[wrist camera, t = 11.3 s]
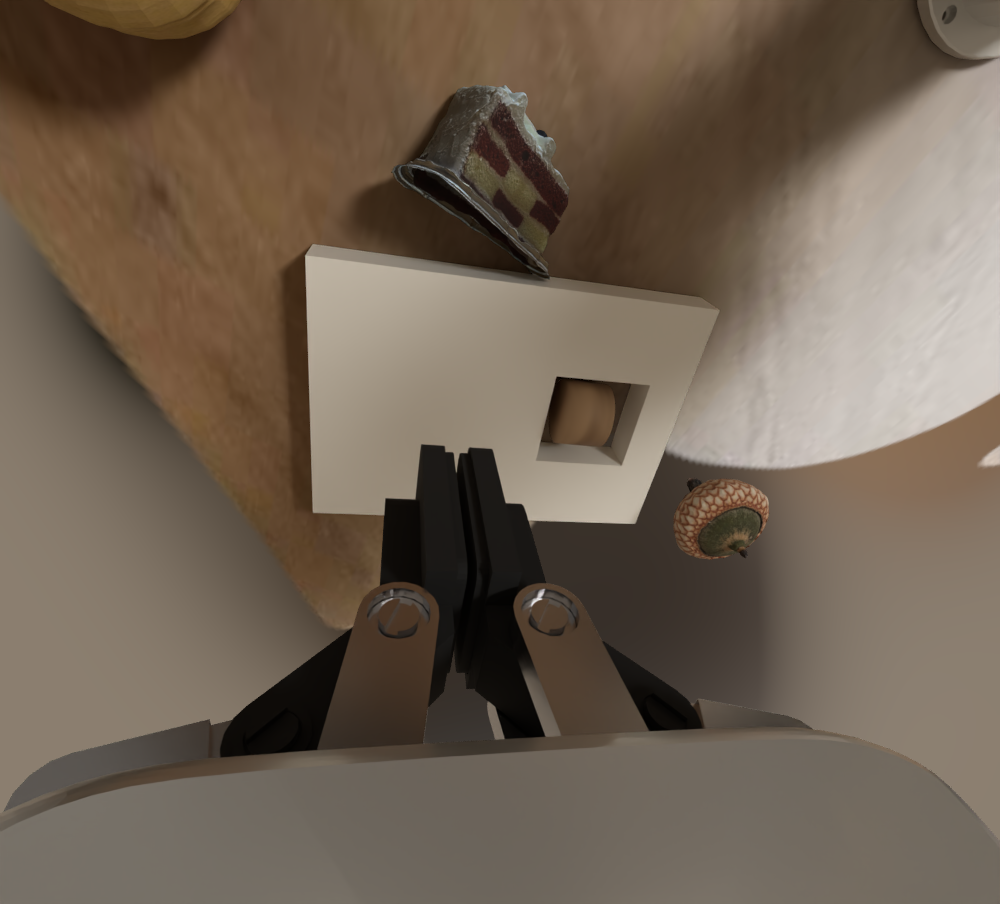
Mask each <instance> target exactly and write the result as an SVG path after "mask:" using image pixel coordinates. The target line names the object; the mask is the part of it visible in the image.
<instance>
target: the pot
mask: <svg viewBox="0 0 1000 904" xmlns="http://www.w3.org/2000/svg"><path fill="white" fill-rule="evenodd" d="M44 1H46V2H47V3H49V4H50V5H52V6H54V7H56V8H58V9H61V10H63V11H65V12H67V13H70V14H72V15H74V16H76V17H79V18H81V19H83V20H85V21H88V22H90V23H92V24H95V25H98V26H103V27H107V28H112V29H115V30H117V31H119V32H121V33H125V34H130V35H135V36H140V37H145V38H150V39H155V40H161V39H180V38H187V37H190V36H193V35H196V34H198V33H201V32H204V31H207V30H210V29H212V28H213V27H214V26H216V25H217V24H218V23H220V22H221V21H222V20H224V19H225V18H226V17H228V16H229V15H230V14H231V13H233V11H234V10H235V9H236V7H237V6H238V4H239V3H240V1H241V0H44Z"/></svg>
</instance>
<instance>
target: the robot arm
mask: <svg viewBox="0 0 1000 904" xmlns="http://www.w3.org/2000/svg"><path fill="white" fill-rule="evenodd" d="M917 6H918V10H919V13H920V17H921V21H922V24H923V27H924V28H925V30H926V32H927V34H928V35H929V37H930V39H931V41H932V42H933V43H935V44H936V45H937V46H938V47H939V48H940V49H941V50H942V51H943V52H945V53H947V54H949V55H952V56H954V57H956V58H961V59H970V60H978V59H991V58H997V57H1000V0H917ZM453 651H454V654H455V665H456V671H457V673H465V678H466V689H475V691H476V692H478V693H479V694H480V695H481V696H483V697H484V698H485V699H486V700H487V701H488V704H487V708H488V715H489V719H490V722H491V726H492V729H493V733H494V736H495V740H483V741H464V742H446V743H430V744H423V741H424V734H425V726H426V718H427V710H428V707H429V706H430V705H431V704H432V703H433V702H434V701H435V700H436V699H437V698H438V697H439V696H440V695H441V694H442V693H443V692H444V686H445V681H446V676H447V673H449V672H450V667H451V662H452V657H453ZM0 904H1000V840H999V839H998V838H997V837H996V836H995V835H994V833H993V832H992V831H991V830H990V829H989V828H988V827H987V825H986V824H985V823H984V822H983V821H982V820H981V819H980V818H979V816H978V815H977V814H976V813H975V812H974V811H973V810H972V809H971V808H970V807H969V806H968V804H967V803H966V802H965V801H964V800H963V799H962V798H961V797H960V796H959V795H958V794H956V792H955V791H954V790H953V789H952V788H950V786H949V785H947V784H946V783H945V782H944V781H943V780H942V779H940V778H939V777H938V776H937V775H936V774H935V773H933V772H932V771H930V770H928V769H927V768H926V767H924V766H923V765H921V764H919V763H918V762H916V761H914V760H912V759H910V758H908V757H906V756H904V755H902V754H900V753H898V752H895V751H893V750H891V749H888V748H885V747H883V746H880V745H877V744H874V743H871V742H868V741H865V740H862V739H859V738H856V737H852V736H847V735H842V734H838V733H833V732H828V731H822V730H814V729H812V728H811V727H809V726H808V725H806V724H805V723H803V722H802V721H800V720H798V719H795V718H792V717H789V716H786V715H780V714H775V713H770V712H765V711H760V710H755V709H749V708H744V707H739V706H734V705H729V704H724V703H719V702H713V701H708V700H703V699H697V701H696V703H695V704H694V703H690V702H689V701H688V700H687V699H686V698H685V697H684V696H683V695H681V694H680V693H679V692H678V691H677V690H675V689H674V688H672V687H671V686H669V685H668V684H666V683H665V682H663V681H662V680H660V679H659V678H657V677H656V676H654V675H653V674H651V673H650V672H648V671H647V670H645V669H644V668H642V667H641V666H639V665H638V664H636V663H635V662H633V661H632V660H630V659H629V658H627V657H626V656H625V655H623V654H622V653H620V652H619V651H617V650H615V649H614V648H613V647H611V646H609V645H608V644H607V643H605V642H604V641H602V640H601V639H600V637H599V635H598V633H597V631H596V629H595V627H594V625H593V623H592V621H591V619H590V617H589V616H588V614H587V612H586V610H585V608H584V607H583V605H582V604H581V602H580V601H579V600H578V598H577V597H575V596H574V595H573V594H572V593H571V592H569V591H567V590H566V589H564V588H562V587H560V586H556V585H552V584H547V583H546V581H545V577H544V574H543V570H542V567H541V564H540V560H539V556H538V553H537V549H536V546H535V542H534V539H533V535H532V532H531V528H530V525H529V521H528V518H527V514H526V511H525V508H524V506H523V505H522V504H515V503H506V502H505V498H504V494H503V490H502V486H501V481H500V477H499V473H498V469H497V465H496V461H495V457H494V452H493V449H488V448H472V447H469V449H468V452H467V453H460V454H459V459H458V465H457V472H456V468H455V460H454V453H453V452H446V451H445V446H441V445H425V444H421V449H420V458H419V468H418V477H417V487H416V497H415V499H394V498H385V511H384V527H383V543H382V559H381V576H380V586H379V587H377V588H375V589H373V590H371V591H370V592H369V593H368V594H367V595H366V596H365V597H364V598H363V600H362V602H361V604H360V606H359V609H358V612H357V615H356V619H355V622H354V626H353V627H352V628H351V629H350V630H348V631H347V632H346V633H344V634H343V635H342V636H340V637H339V638H338V639H336V640H335V641H334V642H332V643H331V644H330V645H328V646H327V647H326V648H324V649H323V650H322V651H320V652H319V653H317V654H316V655H315V656H313V657H312V658H311V659H310V660H308V661H307V662H305V663H304V664H303V665H301V666H300V667H299V668H297V669H296V670H295V671H293V672H292V673H291V674H289V675H288V676H287V677H285V678H284V679H282V680H281V681H280V682H279V683H277V684H276V685H274V686H273V687H272V688H271V689H269V690H268V691H266V692H265V693H264V694H262V695H261V696H260V697H258V698H257V699H256V700H255V701H253V702H252V703H250V704H249V705H248V706H246V707H245V708H244V709H243V710H242V711H241V712H240V713H239V714H238V715H237V716H235V717H234V718H233V720H230V721H226V722H222V723H218V724H214V725H211V723H210V720H205V721H200V722H196V723H192V724H188V725H184V726H180V727H176V728H172V729H168V730H164V731H160V732H156V733H152V734H148V735H144V736H139V737H135V738H132V739H127V740H123V741H119V742H115V743H111V744H107V745H103V746H99V747H95V748H90V749H86V750H83V751H78V752H74V753H71V754H68V755H65V756H63V757H60V758H58V759H55V760H52V761H50V762H49V763H47V764H46V765H44V766H43V767H41V768H40V769H39V770H37V771H35V772H34V773H32V774H31V775H30V776H29V777H28V778H27V779H26V780H25V781H24V782H23V783H22V784H21V785H20V786H19V787H18V788H17V789H16V790H15V792H14V793H13V794H12V796H11V798H10V800H9V802H8V804H7V806H6V808H5V810H4V811H3V812H2V813H0Z"/></svg>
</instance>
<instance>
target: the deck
mask: <svg viewBox="0 0 1000 904" xmlns="http://www.w3.org/2000/svg"><path fill="white" fill-rule="evenodd" d="M305 265H306V299H307V333H308V366H309V400H310V434H311V468H312V502H313V513H333V514H362V515H384V511H385V498H394V499H415V497H416V487H417V477H418V468H419V458H420V449H421V444H425V445H441V446H445V451H446V452H453V453H454V460H455V468H456V472H457V465H458V459H459V454H460V453H467V452H468V449H469V447H472V448H488V449H493V452H494V457H495V461H496V465H497V469H498V473H499V477H500V481H501V486H502V490H503V494H504V498H505V502H506V503H515V504H522V505H523V506H524V508H525V511H526V514H527V518H528V520H535V521H566V522H594V523H621V524H623V523H624V524H635V523H636V521H637V518H638V515H639V513H640V510H641V508H642V505H643V503H644V500H645V498H646V495H647V492H648V490H649V488H650V485H651V483H652V480H653V478H654V475H655V473H656V470H657V468H658V465H659V463H660V460H661V458H662V455H663V453H664V450H665V448H666V445H667V443H668V440H669V437H670V435H671V432H672V430H673V427H674V425H675V422H676V420H677V417H678V415H679V412H680V410H681V407H682V405H683V402H684V400H685V397H686V395H687V392H688V390H689V387H690V385H691V382H692V380H693V377H694V375H695V372H696V370H697V367H698V365H699V362H700V359H701V357H702V354H703V352H704V349H705V347H706V344H707V342H708V339H709V337H710V334H711V332H712V329H713V327H714V324H715V322H716V319H717V317H718V314H719V312H720V310H719V309H717V308H716V307H714V306H713V305H711V304H710V303H708V302H707V301H706V300H704V299H703V298H701V297H695V296H688V295H680V294H673V293H666V292H658V291H651V290H644V289H637V288H629V287H622V286H615V285H608V284H600V283H593V282H586V281H578V280H571V279H564V278H557V277H550V280H548V279H544V278H541V277H539V276H537V275H535V274H527V273H520V272H513V271H506V270H498V269H491V268H484V267H476V266H469V265H462V264H455V263H447V262H440V261H433V260H425V259H418V258H411V257H404V256H396V255H389V254H382V253H374V252H367V251H360V250H353V249H345V248H338V247H331V246H323V245H316V244H312V246H311V247H310V249H309V250H308V252H307V253H306V255H305ZM556 376H558V377H568V378H579V379H589V380H600V381H610V382H621V383H631V386H630V389H629V392H628V395H627V398H626V401H625V404H624V407H623V410H622V413H621V416H620V420H619V423H618V426H617V429H616V432H615V435H614V438H613V441H612V444H611V447H610V446H601V447H592V446H581V445H570V444H560V443H551V442H540V441H541V437H542V433H543V429H544V425H545V421H546V417H547V413H548V409H549V405H550V401H551V397H552V392H553V388H554V384H555V380H556Z"/></svg>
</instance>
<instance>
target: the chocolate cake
mask: <svg viewBox="0 0 1000 904" xmlns="http://www.w3.org/2000/svg"><path fill="white" fill-rule="evenodd" d="M526 107H527V96H526V94H525V93H523V92H519V93H512V92H511V91H510V90H509V89H508V88H507V86H505V85H504V86H503V87H492V86H480V85H475V86H472V87H470V88H466V87H462V88H460V89H458V90H457V92H456V94H455V95H454V98H453V100H452V101H451V103H450V106H449V109H448V112H447V114H446V116H445V117H444V118H443V119H442V120H441V121H440V123H439V125H438V127H437V129H436V131H435V132H434V135H433V137H432V139H431V141H430V142H429V144H428V146H427V147H426V148H425V150H424V152H423V154H422V155H421V156H420V157H419V158H416V159H415V160H414V161H413V162H412V161H410V162H409V163H407V164H405V165H398V166H395V167H394V168H393V171H392V172H391V173H393V175H394V176H393V177H395V179H396V180H397V181H398V182H400V184H403V187H405V188H408V189H411V190H414V191H416V192H417V193H419V194H420V195H422V196H423V197H425V198H426V199H428V200H430V201H432V202H434V203H435V204H437V205H438V206H440V207H441V208H443V209H444V210H445V211H447V212H448V213H450V214H451V215H454V216H456V217H457V218H459V219H461V220H462V222H464V223H465V224H467V226H468V227H470V228H472V229H473V230H475V231H478V232H480V233H482V234H483V235H484V236H487V237H488V238H489V239H490V240H491V241H493V242H494V243H495V244H497V245H499V246H501V247H502V248H503V249H504V250H506V251H507V252H509V254H510V255H511V256H512V257H514V258H515V259H517V260H518V261H519V262H521V263H522V264H523V265H526V266H527V268H528V270H529V271H530V272H531V273H532V274H535V275H537V276H539V277H541V278H544V279H548V280H550V276H549V274H548V263H547V262H546V261H545V260H544V259H543V257H542V256H541V254H542V253H543V252H544V249H545V248H546V246H547V239H548V237H549V236H550V235H551V234H552V233H553V232H554V230H555V229H556V226H557V225H558V224H559V222H560V218H561V215H562V213H563V212H564V210H565V208H566V207H567V204H568V194H569V188H568V187H567V184H566V183H565V181H564V179H563V177H562V176H561V174H560V173H559V171H557V170H556V169H554V168H553V166H552V164H551V158H552V156H553V154H554V153H555V150H556V145H555V142H554V140H553V139H552V138H550V137H547V135H546V133H545V132H544V131H542V130H537V131H536V129H535V127H534V126H533V124H532V123H531V121H530V120H529V119H528V117H527V116H526V114H525V110H526Z"/></svg>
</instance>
